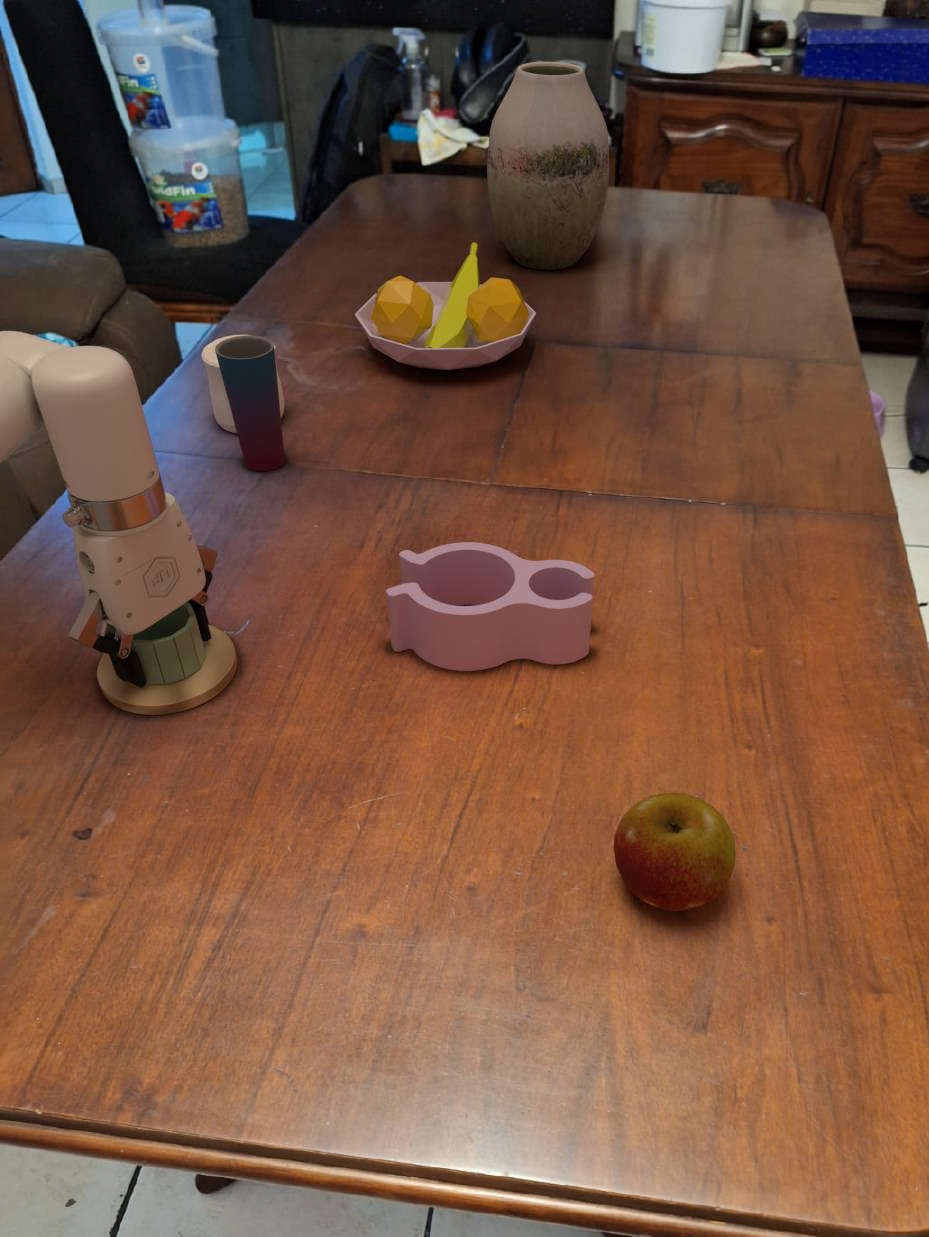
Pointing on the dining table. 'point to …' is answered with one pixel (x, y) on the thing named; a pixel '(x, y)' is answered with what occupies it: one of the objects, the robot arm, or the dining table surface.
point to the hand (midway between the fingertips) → (166, 657)
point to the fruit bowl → (447, 319)
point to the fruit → (674, 851)
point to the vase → (548, 165)
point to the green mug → (170, 647)
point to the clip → (489, 607)
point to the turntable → (177, 694)
